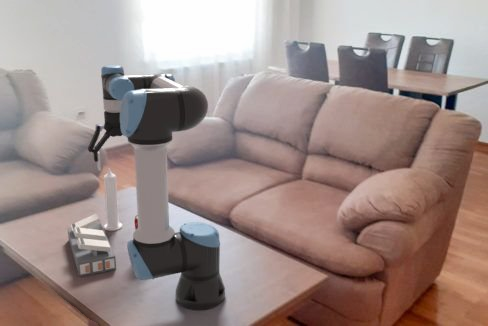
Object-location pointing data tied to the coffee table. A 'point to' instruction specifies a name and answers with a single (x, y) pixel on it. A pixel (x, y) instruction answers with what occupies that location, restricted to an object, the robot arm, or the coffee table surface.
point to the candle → (111, 202)
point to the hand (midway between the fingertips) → (118, 167)
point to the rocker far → (86, 222)
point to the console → (91, 256)
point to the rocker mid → (89, 233)
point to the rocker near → (93, 244)
